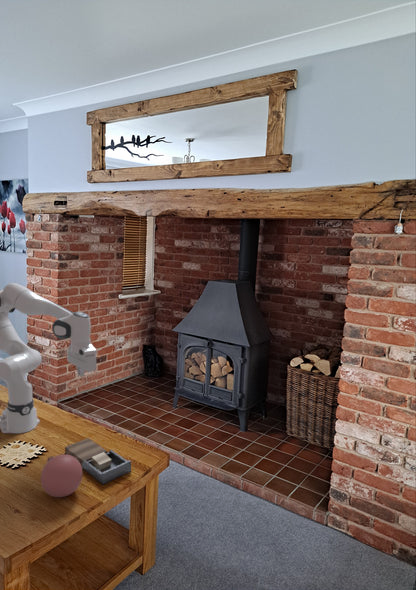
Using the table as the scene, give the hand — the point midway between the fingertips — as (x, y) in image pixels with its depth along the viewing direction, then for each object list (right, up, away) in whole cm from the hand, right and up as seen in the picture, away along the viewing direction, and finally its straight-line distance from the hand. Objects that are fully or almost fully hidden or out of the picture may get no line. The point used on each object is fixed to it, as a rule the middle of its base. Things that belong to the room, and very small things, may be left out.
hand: (80, 375), depth 200 cm
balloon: (+1, -40, -31) cm, 50 cm away
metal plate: (+4, -36, -5) cm, 36 cm away
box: (+16, -38, -16) cm, 44 cm away
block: (+13, -36, -13) cm, 41 cm away
